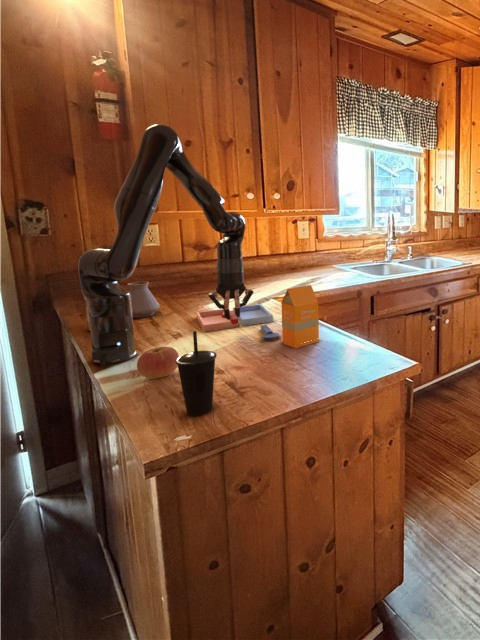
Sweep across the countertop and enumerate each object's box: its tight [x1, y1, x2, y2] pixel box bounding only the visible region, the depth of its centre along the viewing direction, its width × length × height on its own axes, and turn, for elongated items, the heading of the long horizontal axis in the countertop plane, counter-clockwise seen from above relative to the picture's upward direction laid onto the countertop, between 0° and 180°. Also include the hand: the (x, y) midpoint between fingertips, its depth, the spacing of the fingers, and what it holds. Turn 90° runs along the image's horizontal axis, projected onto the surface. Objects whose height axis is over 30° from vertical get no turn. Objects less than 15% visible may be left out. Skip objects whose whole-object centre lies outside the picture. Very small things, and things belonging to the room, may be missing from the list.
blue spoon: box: [260, 324, 280, 342], centre depth 148 cm, size 14×5×2 cm, turn 43°
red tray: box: [196, 308, 238, 333], centre depth 157 cm, size 19×10×2 cm, turn 43°
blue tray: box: [232, 303, 274, 327], centre depth 166 cm, size 19×10×2 cm, turn 43°
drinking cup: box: [175, 330, 218, 417], centre depth 96 cm, size 8×8×20 cm
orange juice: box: [280, 284, 320, 349], centre depth 141 cm, size 8×9×20 cm
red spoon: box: [222, 310, 240, 325], centre depth 142 cm, size 14×5×2 cm, turn 42°
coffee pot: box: [126, 281, 160, 318], centre depth 157 cm, size 21×12×15 cm, turn 133°
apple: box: [136, 345, 180, 380], centre depth 113 cm, size 9×9×8 cm
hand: (232, 318), depth 142 cm, fingers closed on red spoon, 2 cm apart
